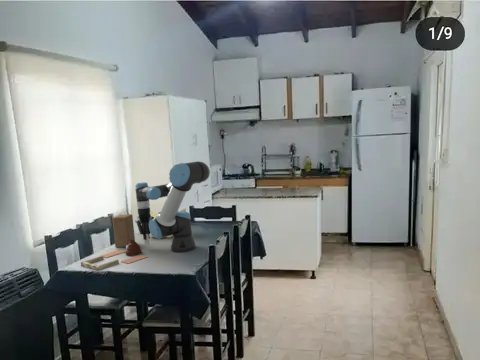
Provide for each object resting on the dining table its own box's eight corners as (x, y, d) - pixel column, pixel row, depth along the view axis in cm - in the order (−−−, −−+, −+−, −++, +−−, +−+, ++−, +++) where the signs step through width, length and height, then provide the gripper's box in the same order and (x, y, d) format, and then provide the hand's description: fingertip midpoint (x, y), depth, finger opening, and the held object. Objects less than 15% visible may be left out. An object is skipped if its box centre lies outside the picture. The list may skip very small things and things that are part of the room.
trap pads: (148, 256, 243) (148, 256, 243) (128, 263, 233) (128, 263, 232) (119, 250, 262) (119, 249, 262) (99, 256, 251) (99, 255, 251)
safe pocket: (118, 263, 235) (118, 259, 235) (97, 270, 225) (97, 266, 224) (102, 258, 246) (101, 255, 246) (81, 265, 235) (80, 262, 235)
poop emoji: (130, 257, 246) (129, 241, 245) (122, 254, 251) (121, 239, 250) (144, 252, 253) (143, 237, 252) (136, 250, 259) (135, 236, 258)
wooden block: (128, 247, 267) (125, 217, 264) (114, 247, 269) (111, 217, 266) (135, 243, 277) (132, 213, 274) (122, 243, 279) (119, 214, 276)
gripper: (148, 205, 265) (151, 241, 268) (131, 209, 255) (134, 246, 258) (155, 205, 260) (159, 242, 263) (138, 209, 250) (142, 247, 253)
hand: (147, 244), depth 260 cm, fingers closed
